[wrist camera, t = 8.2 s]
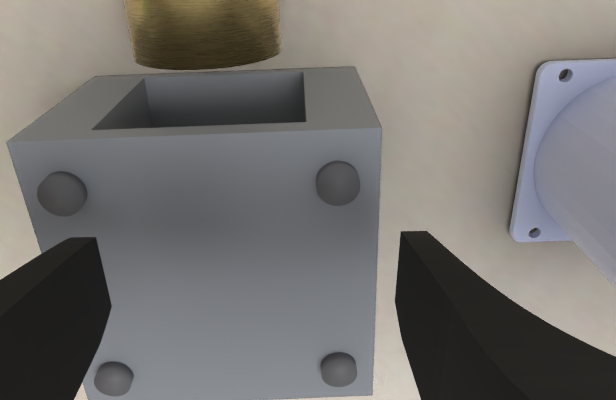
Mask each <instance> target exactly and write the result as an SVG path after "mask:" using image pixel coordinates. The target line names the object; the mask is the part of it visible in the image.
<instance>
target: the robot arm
mask: <svg viewBox="0 0 616 400" xmlns="http://www.w3.org/2000/svg"><path fill="white" fill-rule="evenodd" d="M564 69H568V74H567V76H566V77H565V78H564V79H562V80H559V74H560V72H561V71H563V70H564ZM533 228H537V230H536V231H535V232H534V233H531V234H529V232H530V230H532V229H533ZM509 232H510V235H511V237H512V238H513V239H514V240H515V241H516V242H521V243H522V242H547V241H574V242H575V244H576V245H577V246H578V247H579V248H580V249H581V250H582V251H583V252H584V254H585V255H586V256H587V257H588V258H589V259H590V260H591V261H592V263H593V264H594V265H595V266H596V267H597V268H598V269H599V270H600V271H601V273H602V274H603V275H604V276H605V277H606V278H607V279H608V280H609V281H610V283H611V284H612V285H613V286H614V287H615V288H616V58H615V59H588V60H561V61H548V62H545V63H544V64H542V65H541V66H540V67H539V68H538V70H537V73H536V77H535V83H534V89H533V94H532V100H531V106H530V112H529V118H528V124H527V130H526V135H525V141H524V147H523V153H522V159H521V165H520V171H519V177H518V182H517V188H516V194H515V200H514V206H513V212H512V218H511V224H510V229H509ZM395 304H396V310H397V316H398V321H399V327H400V332H401V337H402V341H403V344H404V347H405V350H406V353H407V357H408V360H409V363H410V366H411V369H412V372H413V375H414V379H415V382H416V385H417V388H418V391H419V394H420V397H421V400H616V357H615V356H613V355H610V354H608V353H606V352H604V351H602V350H599V349H597V348H595V347H593V346H591V345H589V344H587V343H585V342H583V341H581V340H579V339H577V338H575V337H573V336H571V335H569V334H567V333H565V332H563V331H561V330H560V329H558V328H556V327H554V326H552V325H551V324H549V323H547V322H545V321H544V320H542V319H540V318H539V317H537V316H536V315H534V314H532V313H531V312H529V311H527V310H526V309H524V308H523V307H521V306H520V305H518V304H516V303H515V302H513V301H512V300H511V299H509V298H508V297H506V296H505V295H504V294H502V293H501V292H500V291H498V290H497V289H495V288H494V287H493V286H491V285H490V284H489V283H487V282H486V281H485V280H483V279H482V278H481V277H480V276H478V275H477V274H476V273H475V272H473V271H472V270H471V269H470V268H469V267H467V266H466V265H465V264H464V263H463V262H462V261H460V260H459V259H458V258H457V257H456V256H455V255H453V254H452V253H451V252H450V251H449V250H448V249H447V248H446V247H444V246H443V245H442V244H441V243H440V242H439V241H438V240H437V239H435V238H434V237H433V236H432V235H431V234H430V233H428V232H427V231H403V232H401V237H400V248H399V260H398V272H397V283H396V295H395ZM111 308H112V305H111V300H110V296H109V291H108V287H107V283H106V278H105V274H104V270H103V265H102V261H101V256H100V252H99V248H98V243H97V239H96V237H70V238H68V239H66V240H64V241H62V242H60V243H59V244H57V245H55V246H53V247H52V248H50V249H49V250H47V251H45V252H44V253H42V254H41V255H39V256H37V257H36V258H34V259H33V260H31V261H30V262H28V263H26V264H25V265H23V266H22V267H20V268H18V269H17V270H15V271H14V272H12V273H11V274H9V275H7V276H6V277H4V278H3V279H1V280H0V400H74V398H75V396H76V394H77V392H78V390H79V388H80V386H81V384H82V382H83V380H84V377H85V375H86V373H87V371H88V369H89V367H90V365H91V363H92V361H93V358H94V356H95V354H96V352H97V350H98V348H99V346H100V343H101V340H102V337H103V334H104V331H105V328H106V325H107V321H108V318H109V315H110V311H111Z"/></svg>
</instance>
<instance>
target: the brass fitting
mask: <svg viewBox="0 0 616 400" xmlns="http://www.w3.org/2000/svg"><path fill="white" fill-rule="evenodd" d="M123 1H124V6H125V12H126V17H127V23H128V28H129V33H130V39H131V44H132V50H133V55H134V60H135V62H136V63H138V64H140V65H143V66H146V67H151V68H158V69H169V70H201V69H216V68H226V67H233V66H240V65H246V64H251V63H255V62H259V61H263V60H266V59H269V58H271V57H274V56H276V55H277V54H279V53H280V51H281V37H280V19H279V1H278V0H123Z"/></svg>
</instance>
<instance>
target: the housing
mask: <svg viewBox="0 0 616 400" xmlns="http://www.w3.org/2000/svg"><path fill="white" fill-rule="evenodd" d="M381 142H382V127H381V124H380V122H379V120H378V118H377V115H376V113H375V111H374V109H373V106H372V104H371V102H370V100H369V97H368V95H367V93H366V91H365V88H364V86H363V84H362V82H361V79H360V77H359V75H358V73H357V70H356V68H355V67H332V68H305V69H278V70H251V71H225V72H198V73H171V74H144V75H117V76H95V77H94V78H92V79H91V80H90V81H88V82H87V83H86V84H84V85H83V86H82V87H80V88H79V89H77V90H76V91H75V92H73V93H72V94H71V95H69V96H68V97H67V98H65V99H64V100H63V101H61V102H60V103H59V104H57V105H56V106H54V107H53V108H52V109H50V110H49V111H48V112H46V113H45V114H44V115H42V116H41V117H40V118H38V119H37V120H35V121H34V122H33V123H31V124H30V125H29V126H27V127H26V128H25V129H23V130H22V131H21V132H19V133H18V134H16V135H15V136H14V137H12V138H11V139H10V140H8V141H7V142H6V143H7V146H8V149H9V152H10V156H11V159H12V162H13V165H14V168H15V171H16V174H17V178H18V181H19V184H20V187H21V190H22V193H23V196H24V200H25V203H26V206H27V209H28V212H29V215H30V218H31V222H32V225H33V228H34V231H35V234H36V237H37V240H38V244H39V247H40V250H41V253H44V252H45V251H47V250H49V249H50V248H52V247H53V246H55V245H57V244H59V243H60V242H62V241H64V240H66V239H68V238H70V237H96V239H97V243H98V248H99V252H100V256H101V261H102V265H103V270H104V274H105V278H106V283H107V287H108V291H109V296H110V300H111V305H112V308H111V311H110V315H109V318H108V321H107V325H106V328H105V331H104V334H103V337H102V340H101V343H100V346H99V348H98V350H97V352H96V354H95V356H94V358H93V361H92V363H91V365H90V367H89V369H88V371H87V373H86V375H85V377H84V380H83V385H84V388H85V391H86V395H87V398H88V400H272V399H296V398H320V397H344V396H368V395H372V394H373V366H374V338H375V310H376V282H377V254H378V226H379V198H380V170H381Z"/></svg>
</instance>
